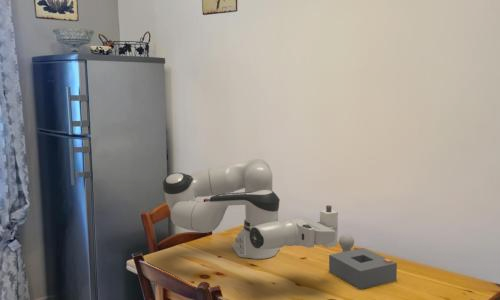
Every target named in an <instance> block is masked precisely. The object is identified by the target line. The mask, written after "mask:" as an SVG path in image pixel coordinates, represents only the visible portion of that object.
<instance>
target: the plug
mask: <svg viewBox="0 0 500 300" xmlns="http://www.w3.org/2000/svg"><path fill="white" fill-rule="evenodd" d="M332 207H333V206H332V205H330V204H329V205H326V206H325V209H324V210H320V211H319V222H320V224H322V225H324V226H326V227H330V226H336V227H337V231H336V232H335V241H333V242H331V243H327V244H322V245H321V246H322V247H325V248H334V247H338V231H339V230H338V227H339V224H338V222H339V221H338V218H339V217H338V215H339V213H338V211H335V210H333V209H332Z"/></svg>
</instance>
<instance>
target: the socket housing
mask: <svg viewBox="0 0 500 300" xmlns="http://www.w3.org/2000/svg"><path fill="white" fill-rule="evenodd" d="M328 259H329V260H328V272H329V273H331V274H332V275H335V276H336V277H338V278H339V279H341V280H343V281H345V282H346V283H348V284H349V285H351V286H353V287H355V288H356V289H357V290H365V289H369V288H373V287H376V286H380V285H385V284H389V283H392V282H397V278H398V277H397V275H398V274H397V273H398V270H397V269H398V268H397V267H398V263H397V261H396V262H395V261H393V260H391V259H389V258H386V257H385V256H382V255H379V254H378V253H376V252H373V251H372V250H370V249H367V248H365V247H362V248H357V249H356V248H355V249H351V251H346V252H343V251H342V252H341V251H340V252H338V253H331V254H329V256H328Z"/></svg>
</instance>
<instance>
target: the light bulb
mask: <svg viewBox="0 0 500 300" xmlns="http://www.w3.org/2000/svg"><path fill="white" fill-rule="evenodd" d="M338 243H339V246H340V248H341V250H342V252H346V251H351V250H352V248H353V246H354V245H355V238H354V237H353V236H352V235H351V234H348V233H344V234H341V236H340V237H339V239H338Z"/></svg>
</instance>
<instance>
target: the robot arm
mask: <svg viewBox="0 0 500 300" xmlns="http://www.w3.org/2000/svg"><path fill="white" fill-rule="evenodd" d="M162 188H163V192H164V197H165V201H166V204H167V206H168V209H169V211H170V220H171V221H172V224H174V225H175V226H177V227H179V228H182V229H185V230H187V231H193V232H197V233H203V234H205V233H211V232H213V231H215V230H217V228H218V227H219V226H220V225H221V223H222V221H223V218H224V216H225V214H226V212H227V209H228V207H229V206H244V207H245V219H244V221H243V228H242V229H241V230H240V231H239V232H238V233H237V235H236V236H237V237H235V242H234V243H232V244H231V248H232V249H233V250H234V252H235V253H236V254H237V257H239V258H249V259H254V260H261V259H268V258H272V257H275V256H276V255H277V253H278V252H279V251H280V249H281V248H283V247H286V246H287V247H292V246H297V247H298V246H299V247H300V246H301V247H304V248H310V249H311V248H315V246H319V245H320V246H323V245H322V244H327V243H331V242H333V241H335V232H336V231H337V227H336V226H330V227H326V226H324V225H322V224H320V221H318V220H317V221H316V220H313V219H310V218H308V217H306V216H300V217H299V216H298V217H295V218H290V219H284V220H283V221H279V207H280V200H281V199H280V198H279V197H278V194H276V193H275V192H274V191H273V173H272V169H271V166H270V165H269V163H267V161H266V160H263V159H261V158H254V159H250V160H246V161H240V162H236V163H234V164H230V165H225V166H220V167H212V168H207V169H206V168H205V169H202V170H199V171H195V172H192V173H190V174H186V173H183V172H173V173H171V174H170V173H169V175H167V176H166V177H164V179H163V182H162ZM243 189H244V192H237V191H240V190H243ZM199 197H200V198H203V197H204V198H206V197H210V198H209V200H207V201H197V198H199Z"/></svg>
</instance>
